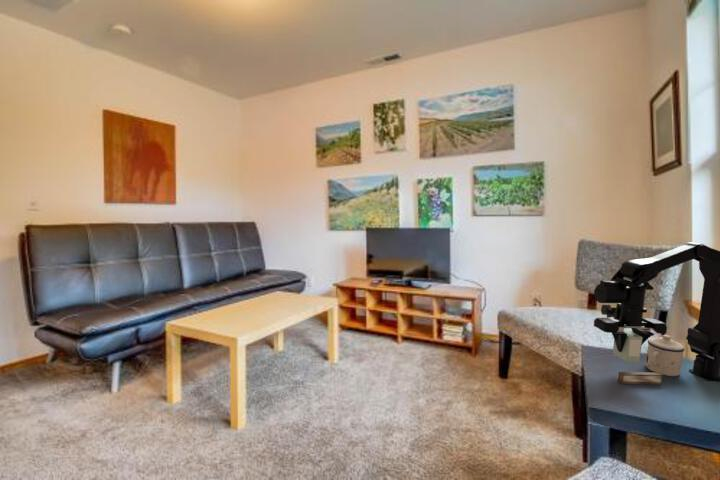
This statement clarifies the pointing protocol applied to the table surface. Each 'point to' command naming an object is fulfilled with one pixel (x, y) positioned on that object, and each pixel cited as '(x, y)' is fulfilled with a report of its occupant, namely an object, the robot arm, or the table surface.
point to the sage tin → (630, 348)
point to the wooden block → (639, 378)
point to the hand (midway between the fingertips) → (626, 351)
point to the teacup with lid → (664, 356)
